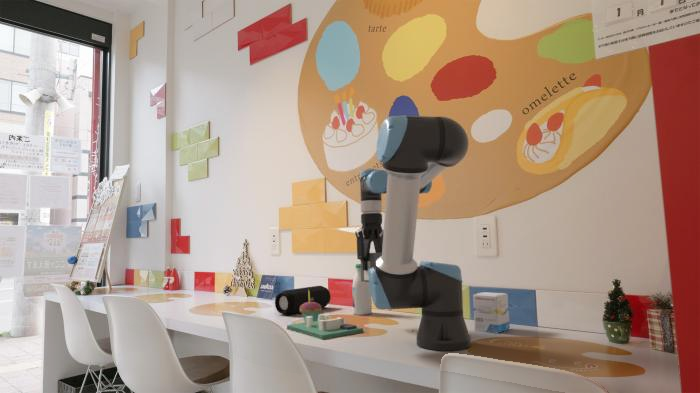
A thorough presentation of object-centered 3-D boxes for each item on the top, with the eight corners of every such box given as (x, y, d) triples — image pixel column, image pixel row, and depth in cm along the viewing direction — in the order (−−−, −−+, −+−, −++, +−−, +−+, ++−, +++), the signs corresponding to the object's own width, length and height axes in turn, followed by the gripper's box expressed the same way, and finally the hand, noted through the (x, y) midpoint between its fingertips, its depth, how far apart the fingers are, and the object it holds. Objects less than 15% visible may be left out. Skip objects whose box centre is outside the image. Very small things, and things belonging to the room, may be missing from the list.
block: (385, 281, 156) (384, 252, 157) (375, 282, 153) (374, 253, 154) (369, 280, 163) (368, 252, 164) (359, 281, 160) (358, 253, 161)
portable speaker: (290, 317, 179) (289, 291, 180) (273, 314, 185) (273, 290, 186) (332, 308, 199) (331, 285, 200) (315, 306, 205) (315, 284, 206)
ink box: (510, 329, 147) (508, 293, 148) (498, 333, 140) (497, 295, 141) (485, 326, 152) (484, 291, 153) (473, 330, 146) (472, 294, 147)
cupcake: (318, 323, 164) (318, 289, 165) (296, 322, 166) (295, 289, 167) (324, 319, 172) (324, 287, 173) (303, 318, 174) (302, 287, 175)
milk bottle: (375, 312, 184) (373, 263, 186) (365, 315, 177) (364, 264, 179) (359, 311, 188) (358, 263, 190) (349, 314, 181) (348, 264, 183)
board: (363, 331, 147) (362, 318, 148) (322, 339, 138) (322, 325, 138) (325, 322, 165) (325, 311, 165) (287, 328, 155) (286, 316, 155)
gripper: (383, 214, 168) (384, 277, 166) (345, 213, 158) (346, 280, 156) (396, 213, 162) (398, 278, 160) (358, 212, 152) (360, 282, 150)
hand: (373, 279), depth 158 cm, fingers closed on block, 4 cm apart
